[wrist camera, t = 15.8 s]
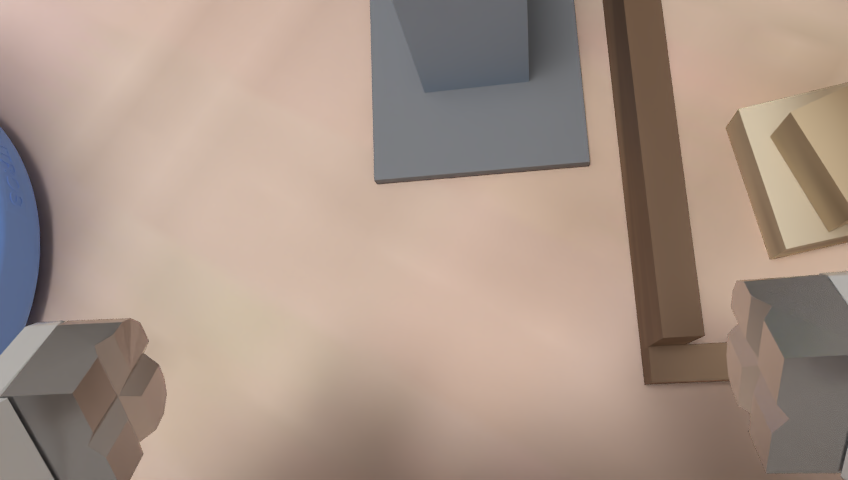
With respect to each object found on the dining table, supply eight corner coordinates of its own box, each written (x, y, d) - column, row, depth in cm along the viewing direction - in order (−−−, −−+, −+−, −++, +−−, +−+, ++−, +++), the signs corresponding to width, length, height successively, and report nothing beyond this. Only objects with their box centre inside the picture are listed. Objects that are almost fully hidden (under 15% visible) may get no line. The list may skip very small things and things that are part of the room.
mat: (558, -148, 26) (558, -156, 26) (588, 165, 24) (589, 161, 23) (369, -121, 27) (367, -128, 27) (376, 183, 24) (374, 180, 24)
